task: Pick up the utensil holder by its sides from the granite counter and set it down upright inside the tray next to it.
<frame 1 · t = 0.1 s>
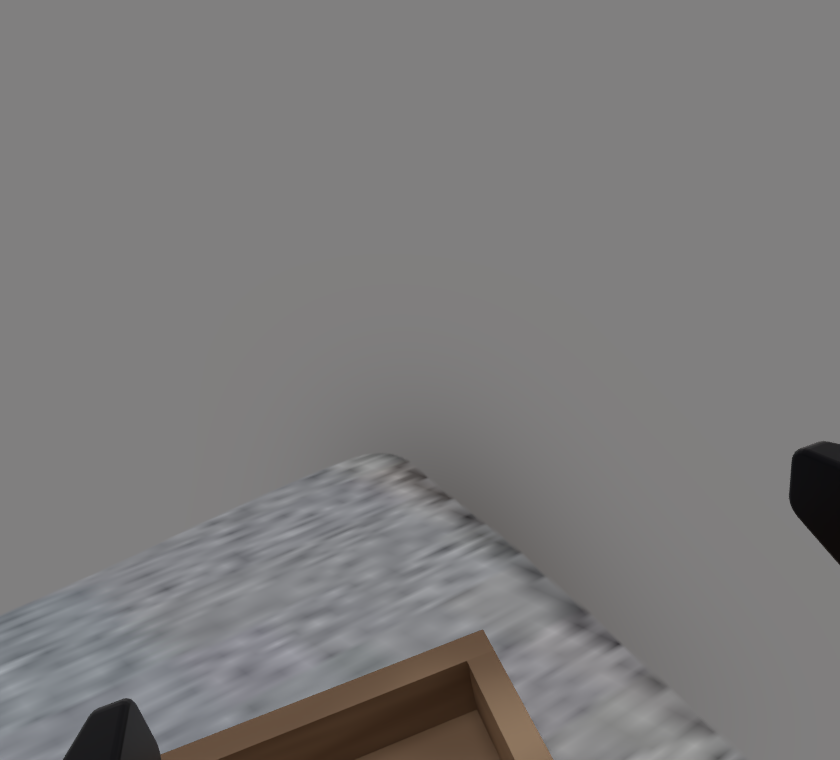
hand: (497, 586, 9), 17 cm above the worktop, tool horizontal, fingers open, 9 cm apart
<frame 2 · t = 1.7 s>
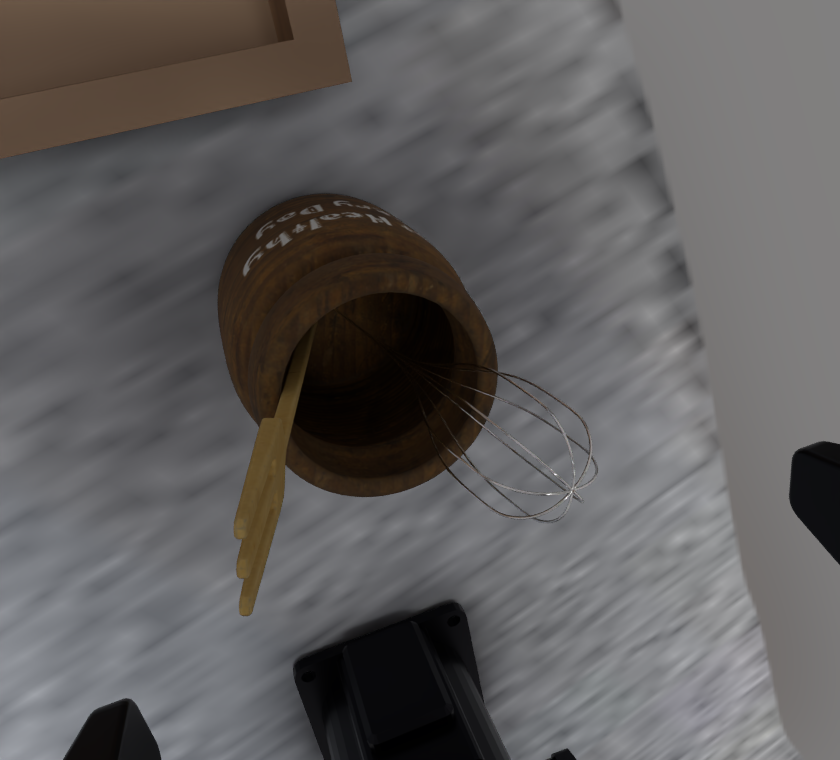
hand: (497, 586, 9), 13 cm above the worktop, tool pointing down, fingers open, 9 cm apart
utensil holder: (316, 291, 21), on the worktop
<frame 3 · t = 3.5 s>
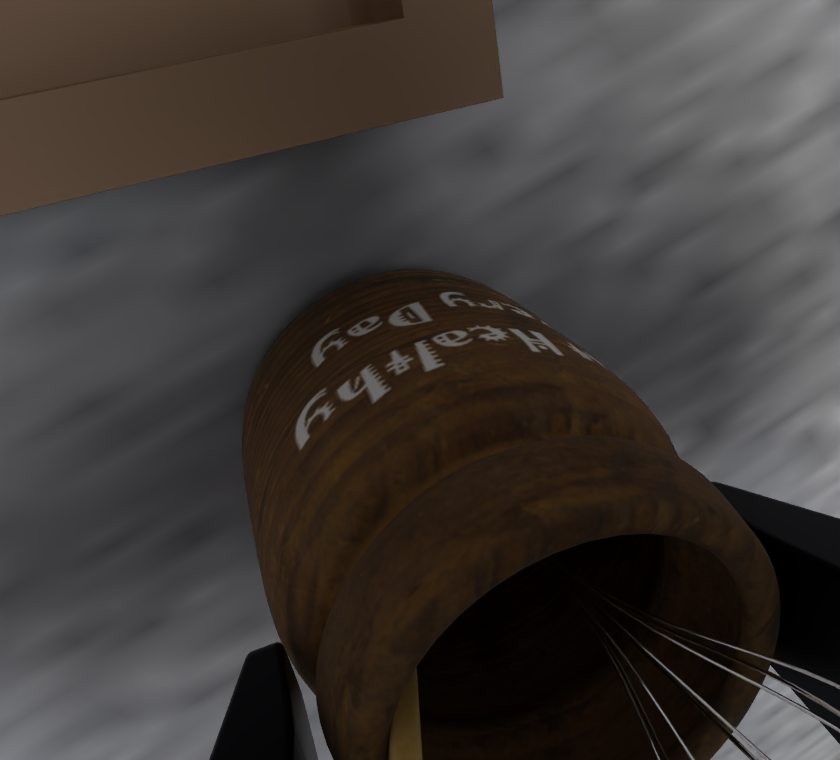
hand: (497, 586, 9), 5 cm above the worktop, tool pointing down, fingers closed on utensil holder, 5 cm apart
utensil holder: (387, 408, 14), on the worktop, touching gripper
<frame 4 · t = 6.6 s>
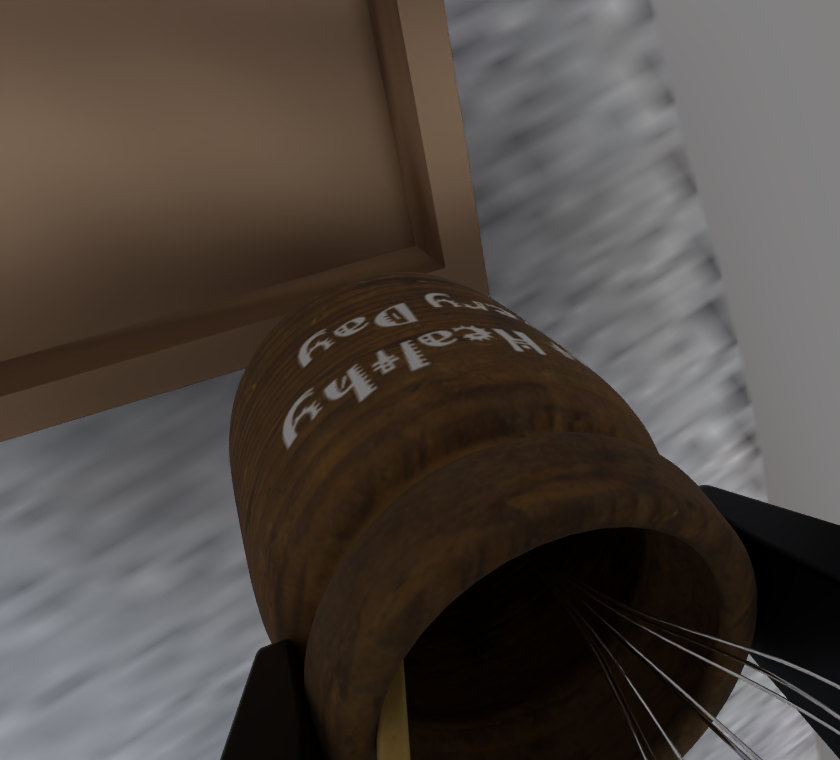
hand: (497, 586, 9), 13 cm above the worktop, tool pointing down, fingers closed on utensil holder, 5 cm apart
tray: (80, 37, 16), on the worktop
utensil holder: (373, 409, 14), point 7 cm above the worktop, touching gripper
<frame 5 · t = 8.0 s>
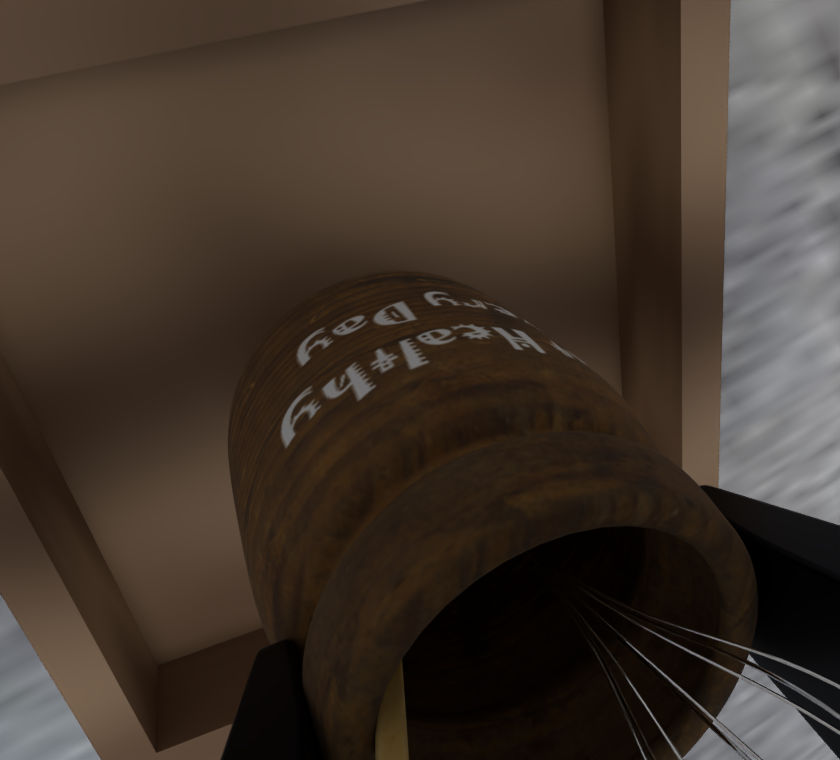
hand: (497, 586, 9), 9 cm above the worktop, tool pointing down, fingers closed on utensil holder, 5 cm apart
tray: (345, 338, 17), on the worktop
utensil holder: (373, 408, 14), point 3 cm above the worktop, touching gripper
when the fingers open (7 cm above the worktop, at t = 9.2 s): utensil holder stays where it is, resting on tray.
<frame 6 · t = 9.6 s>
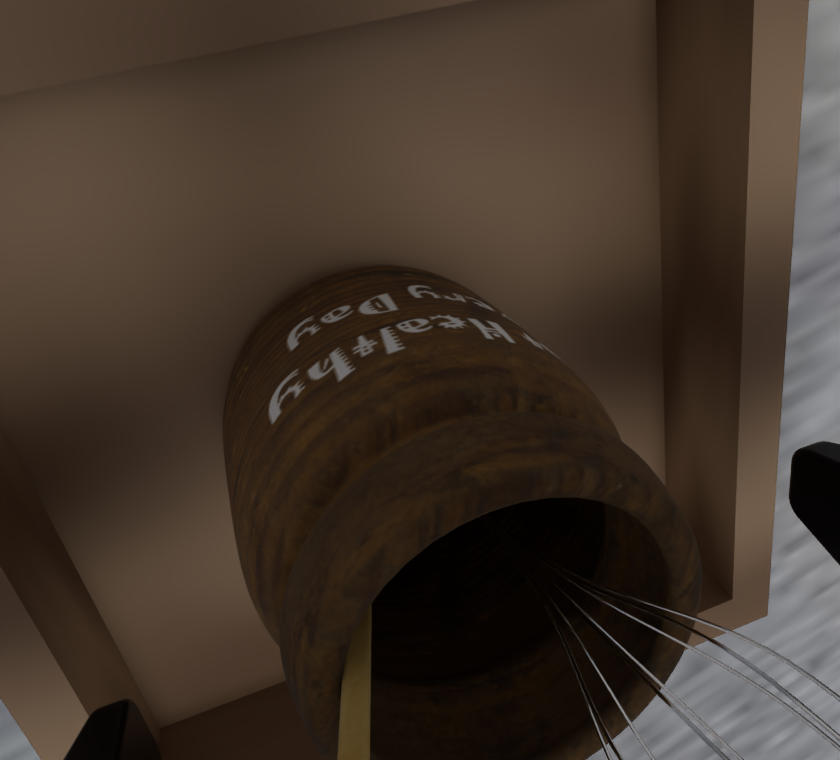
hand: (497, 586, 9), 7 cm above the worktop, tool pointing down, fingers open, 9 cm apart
tray: (365, 372, 15), on the worktop
utensil holder: (362, 396, 14), point 1 cm above the worktop, touching tray
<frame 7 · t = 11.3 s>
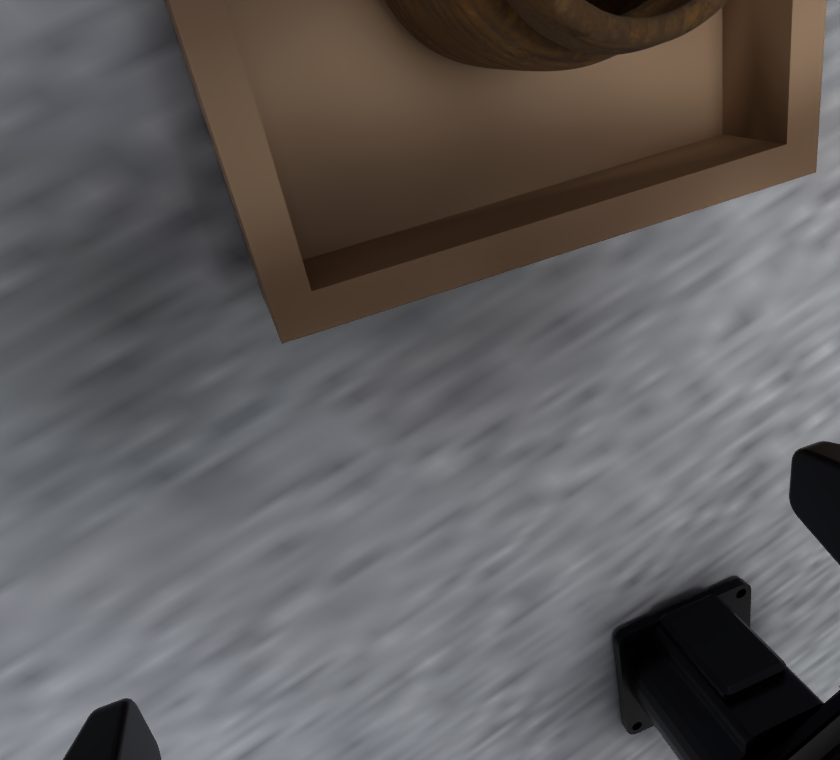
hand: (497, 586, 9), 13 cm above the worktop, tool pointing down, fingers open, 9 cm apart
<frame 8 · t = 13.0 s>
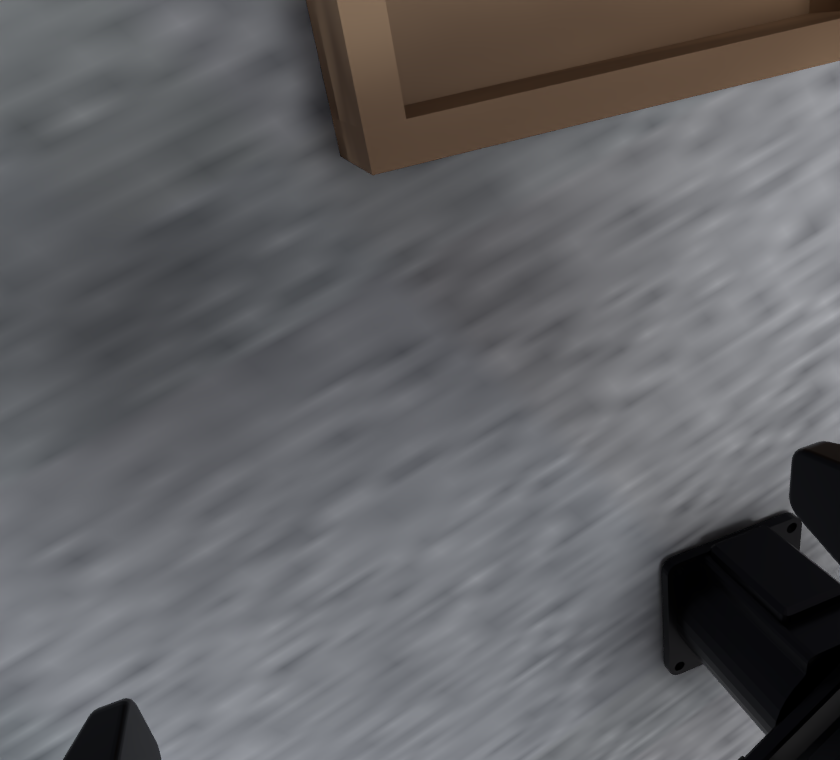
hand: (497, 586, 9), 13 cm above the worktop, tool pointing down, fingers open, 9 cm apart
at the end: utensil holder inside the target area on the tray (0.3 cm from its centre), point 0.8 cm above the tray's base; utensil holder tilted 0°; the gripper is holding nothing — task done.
